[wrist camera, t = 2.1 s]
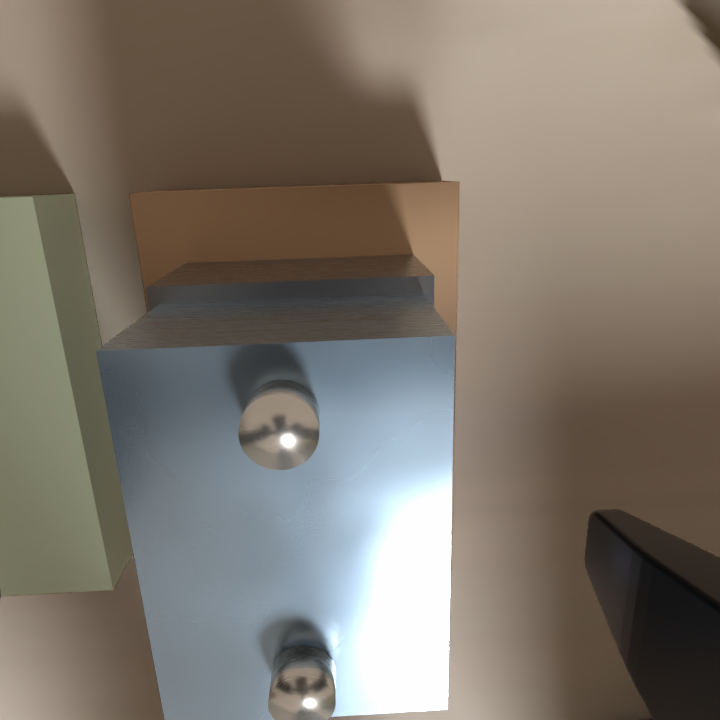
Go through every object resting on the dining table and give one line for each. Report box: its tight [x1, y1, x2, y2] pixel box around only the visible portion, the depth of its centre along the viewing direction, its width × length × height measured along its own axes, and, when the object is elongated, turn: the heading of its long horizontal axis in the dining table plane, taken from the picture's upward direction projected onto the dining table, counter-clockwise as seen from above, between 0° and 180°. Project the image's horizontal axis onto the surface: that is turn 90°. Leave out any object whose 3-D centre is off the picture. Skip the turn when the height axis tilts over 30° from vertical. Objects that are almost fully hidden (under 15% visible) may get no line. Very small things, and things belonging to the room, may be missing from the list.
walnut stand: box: [129, 181, 459, 571], centre depth 15 cm, size 10×7×2 cm
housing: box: [96, 254, 455, 720], centre depth 11 cm, size 7×5×6 cm
